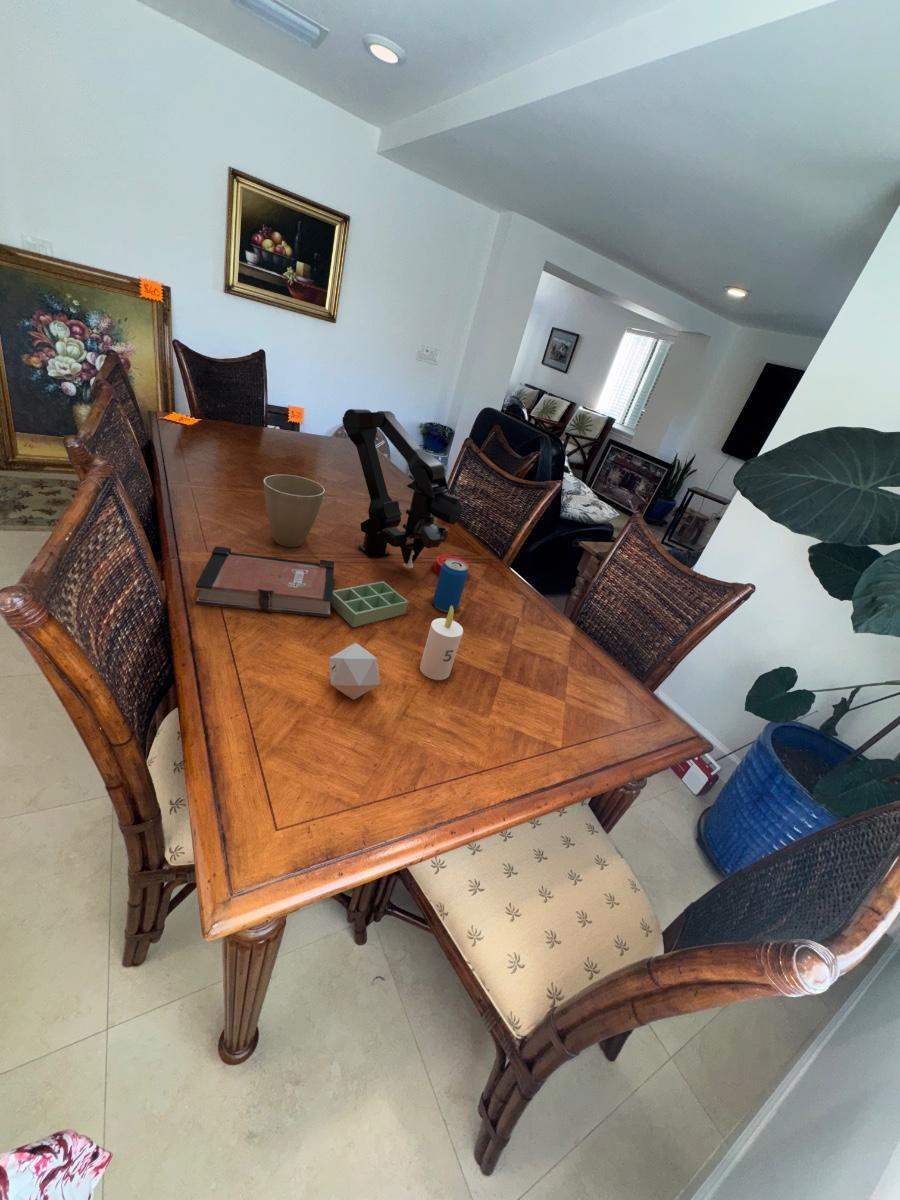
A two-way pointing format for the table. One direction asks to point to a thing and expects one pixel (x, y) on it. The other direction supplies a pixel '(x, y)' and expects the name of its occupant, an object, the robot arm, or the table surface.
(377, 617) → the grid
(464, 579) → the beverage can
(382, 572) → the table surface
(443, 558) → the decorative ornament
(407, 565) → the chess pawn
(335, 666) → the die
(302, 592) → the book
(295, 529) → the plant pot
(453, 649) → the candle
